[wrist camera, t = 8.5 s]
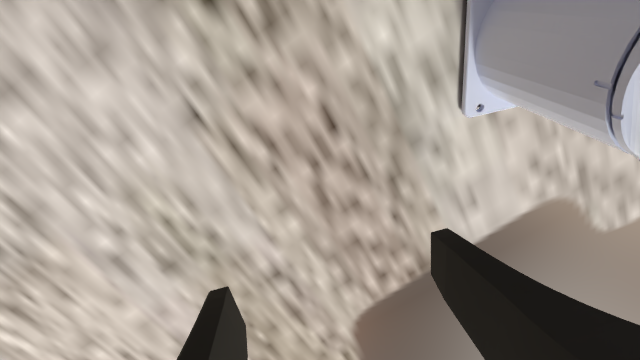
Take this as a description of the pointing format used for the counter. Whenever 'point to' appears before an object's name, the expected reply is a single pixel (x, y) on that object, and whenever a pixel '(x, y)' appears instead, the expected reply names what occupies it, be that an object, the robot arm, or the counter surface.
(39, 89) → the counter surface
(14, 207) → the counter surface
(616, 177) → the counter surface
